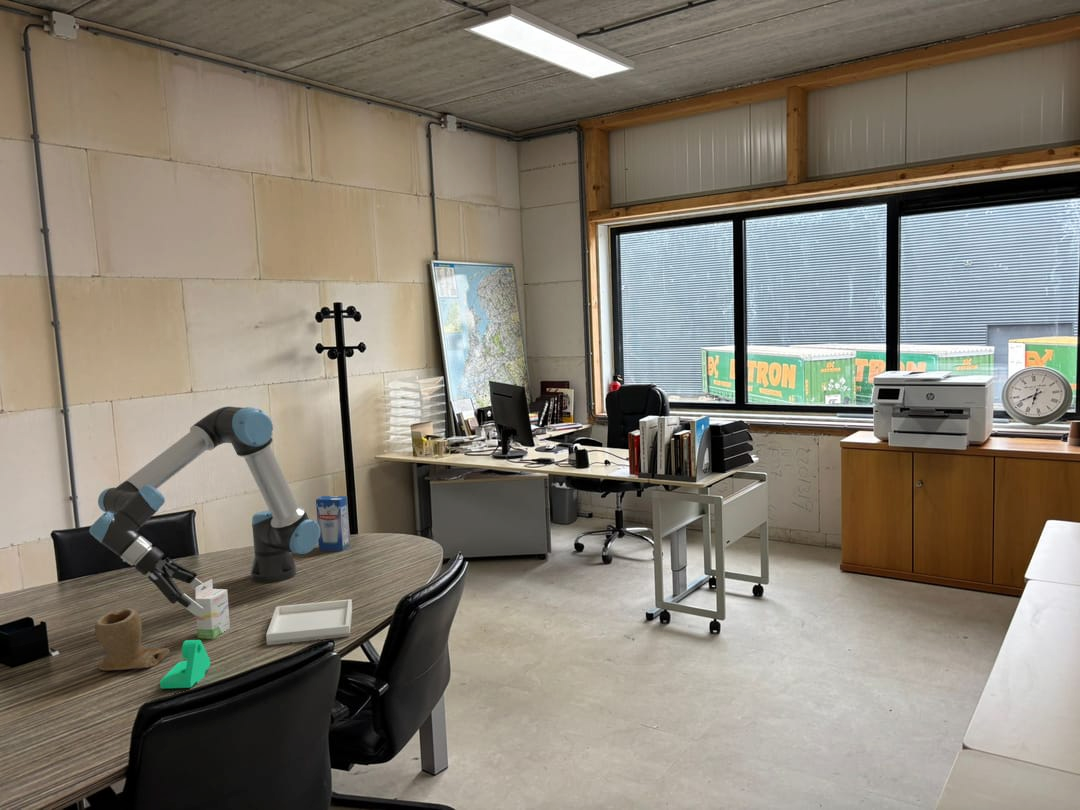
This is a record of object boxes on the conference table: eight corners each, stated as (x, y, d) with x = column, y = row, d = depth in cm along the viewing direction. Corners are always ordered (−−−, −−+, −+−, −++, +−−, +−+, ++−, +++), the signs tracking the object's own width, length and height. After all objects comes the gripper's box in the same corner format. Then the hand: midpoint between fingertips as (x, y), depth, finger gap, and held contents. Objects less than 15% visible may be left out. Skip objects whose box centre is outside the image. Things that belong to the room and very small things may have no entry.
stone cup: (88, 678, 198) (82, 620, 197) (113, 658, 210) (108, 603, 209) (148, 676, 198) (143, 619, 197) (170, 656, 210) (166, 602, 208)
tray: (277, 616, 237) (276, 606, 237) (352, 608, 241) (351, 599, 241) (266, 645, 215) (266, 634, 215) (349, 636, 220) (349, 625, 219)
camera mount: (180, 670, 201) (177, 632, 200) (210, 669, 202) (207, 630, 200) (159, 693, 189) (155, 651, 188) (191, 691, 190) (188, 650, 188)
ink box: (213, 640, 220) (209, 588, 219) (197, 639, 221) (193, 588, 220) (231, 628, 229) (227, 578, 227) (215, 627, 230) (211, 577, 228)
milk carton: (349, 546, 310) (346, 496, 308) (342, 550, 304) (339, 499, 302) (326, 545, 312) (323, 495, 310) (318, 550, 306) (315, 499, 304)
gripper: (147, 553, 231) (205, 598, 235) (119, 580, 206) (184, 629, 211) (165, 534, 231) (222, 579, 236) (139, 559, 207) (204, 608, 211)
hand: (205, 603), depth 223 cm, fingers open, 13 cm apart
